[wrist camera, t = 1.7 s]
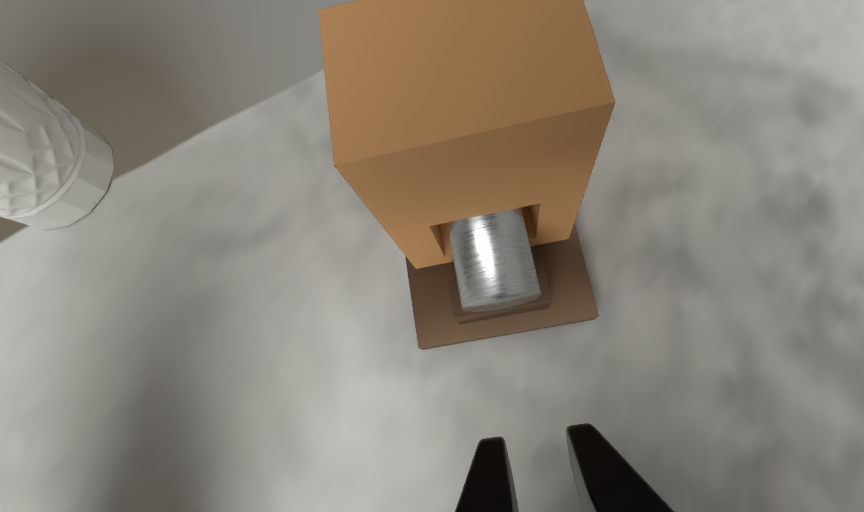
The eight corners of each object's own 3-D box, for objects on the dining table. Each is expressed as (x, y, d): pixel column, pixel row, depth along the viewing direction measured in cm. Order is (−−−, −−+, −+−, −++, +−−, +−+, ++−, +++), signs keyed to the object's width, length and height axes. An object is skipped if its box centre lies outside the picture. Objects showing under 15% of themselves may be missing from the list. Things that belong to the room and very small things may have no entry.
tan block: (568, 238, 21) (615, 101, 11) (415, 268, 22) (334, 165, 12) (543, 141, 23) (565, -56, 13) (401, 172, 24) (318, 10, 14)
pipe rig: (595, 319, 22) (624, 290, 16) (422, 349, 22) (389, 333, 17) (513, 6, 27) (513, -102, 21) (377, 41, 28) (340, -54, 22)
